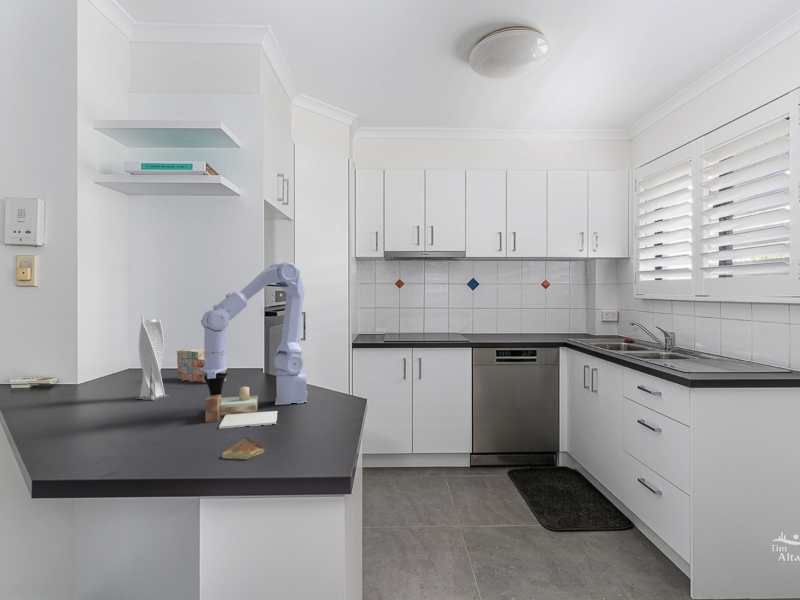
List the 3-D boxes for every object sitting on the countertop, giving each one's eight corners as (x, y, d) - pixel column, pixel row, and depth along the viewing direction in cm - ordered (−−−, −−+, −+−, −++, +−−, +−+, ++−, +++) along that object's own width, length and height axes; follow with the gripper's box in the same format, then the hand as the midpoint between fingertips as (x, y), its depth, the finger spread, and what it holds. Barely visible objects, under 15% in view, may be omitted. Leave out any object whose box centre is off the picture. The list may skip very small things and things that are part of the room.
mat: (277, 413, 130) (277, 411, 130) (276, 424, 118) (276, 422, 118) (225, 416, 126) (225, 414, 126) (219, 428, 115) (219, 426, 115)
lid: (258, 397, 138) (258, 383, 138) (255, 405, 129) (255, 390, 129) (212, 400, 135) (212, 386, 135) (206, 408, 126) (206, 393, 126)
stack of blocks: (226, 381, 181) (226, 350, 181) (213, 384, 176) (213, 352, 176) (190, 377, 191) (189, 348, 191) (177, 380, 185) (176, 350, 185)
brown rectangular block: (221, 414, 128) (221, 393, 128) (217, 421, 122) (217, 399, 122) (210, 415, 128) (209, 394, 128) (205, 422, 121) (205, 399, 121)
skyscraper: (131, 399, 149) (130, 315, 149) (150, 394, 157) (149, 314, 157) (153, 400, 147) (151, 315, 147) (171, 395, 155) (169, 314, 155)
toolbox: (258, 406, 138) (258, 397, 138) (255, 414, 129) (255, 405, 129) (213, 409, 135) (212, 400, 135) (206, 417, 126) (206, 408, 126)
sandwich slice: (246, 443, 104) (246, 435, 104) (277, 444, 103) (277, 437, 103) (220, 460, 94) (220, 451, 94) (254, 462, 92) (254, 453, 92)
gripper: (205, 349, 135) (205, 395, 135) (194, 355, 121) (195, 406, 121) (230, 348, 137) (230, 393, 137) (222, 354, 123) (223, 404, 123)
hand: (216, 399), depth 129 cm, fingers closed
